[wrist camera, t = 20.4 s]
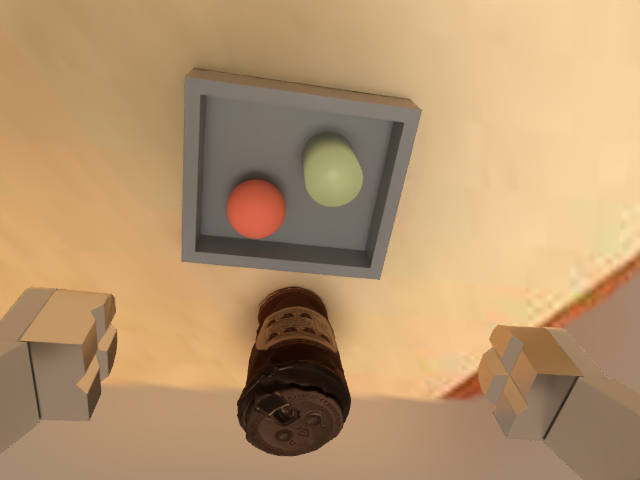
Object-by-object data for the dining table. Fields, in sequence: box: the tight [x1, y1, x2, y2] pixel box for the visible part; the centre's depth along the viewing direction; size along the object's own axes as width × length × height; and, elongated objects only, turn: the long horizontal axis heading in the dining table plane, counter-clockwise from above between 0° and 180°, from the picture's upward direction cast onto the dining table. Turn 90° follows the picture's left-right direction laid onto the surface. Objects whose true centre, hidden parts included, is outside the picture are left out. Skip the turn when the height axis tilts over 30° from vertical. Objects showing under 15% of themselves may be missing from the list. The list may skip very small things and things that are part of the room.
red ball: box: [226, 179, 286, 239], centre depth 36 cm, size 4×4×4 cm
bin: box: [181, 68, 422, 280], centre depth 37 cm, size 16×14×4 cm
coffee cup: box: [237, 288, 351, 456], centre depth 39 cm, size 9×8×13 cm
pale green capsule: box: [302, 132, 363, 207], centre depth 35 cm, size 4×4×5 cm
